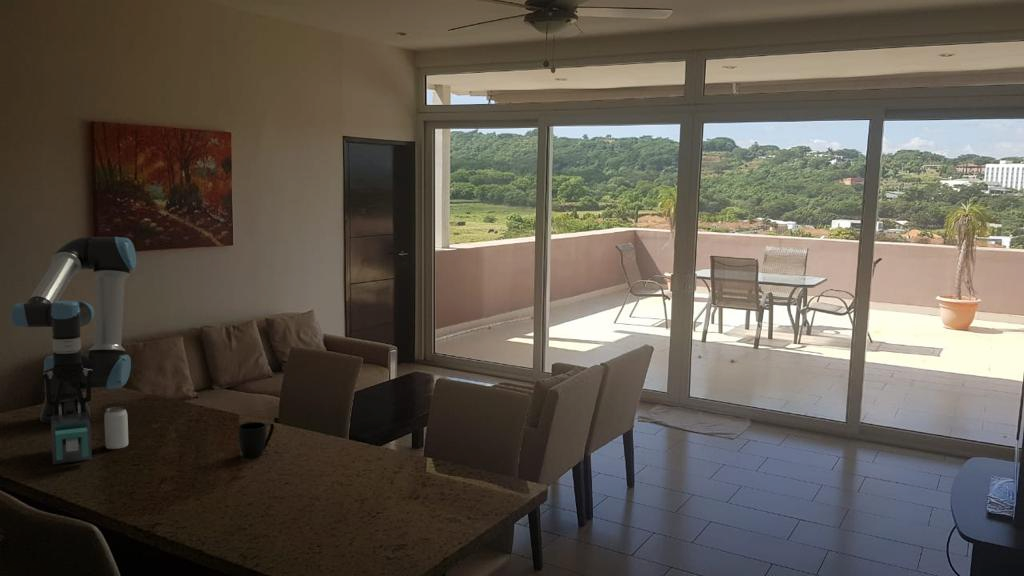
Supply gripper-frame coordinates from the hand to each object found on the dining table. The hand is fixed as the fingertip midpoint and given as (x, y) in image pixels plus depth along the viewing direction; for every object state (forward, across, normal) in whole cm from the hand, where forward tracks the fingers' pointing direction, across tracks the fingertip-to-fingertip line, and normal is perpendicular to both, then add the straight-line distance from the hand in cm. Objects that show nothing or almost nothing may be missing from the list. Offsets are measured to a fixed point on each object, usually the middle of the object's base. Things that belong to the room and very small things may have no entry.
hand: (70, 425), depth 244 cm
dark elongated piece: (+1, 0, -11) cm, 11 cm away
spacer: (+4, 0, -19) cm, 19 cm away
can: (+7, +12, -5) cm, 15 cm away
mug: (+7, +50, -32) cm, 59 cm away
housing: (+7, 0, -10) cm, 12 cm away
